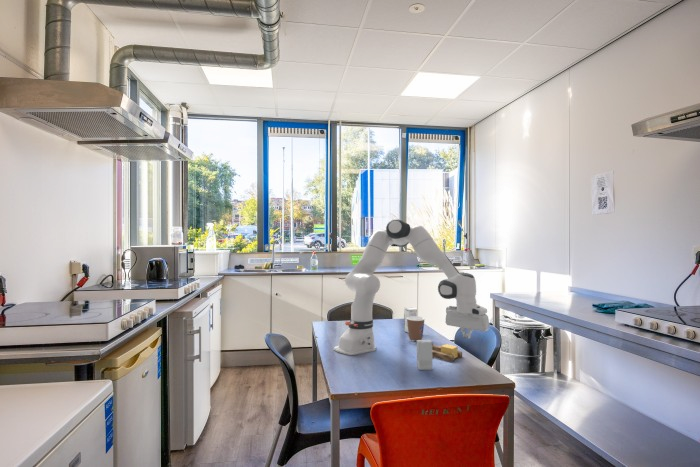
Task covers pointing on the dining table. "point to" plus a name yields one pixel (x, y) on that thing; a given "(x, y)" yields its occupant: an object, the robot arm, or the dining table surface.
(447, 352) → the ochre block
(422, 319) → the coffee cup
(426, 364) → the skincare box
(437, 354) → the chute
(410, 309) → the syrup box
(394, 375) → the dining table surface
